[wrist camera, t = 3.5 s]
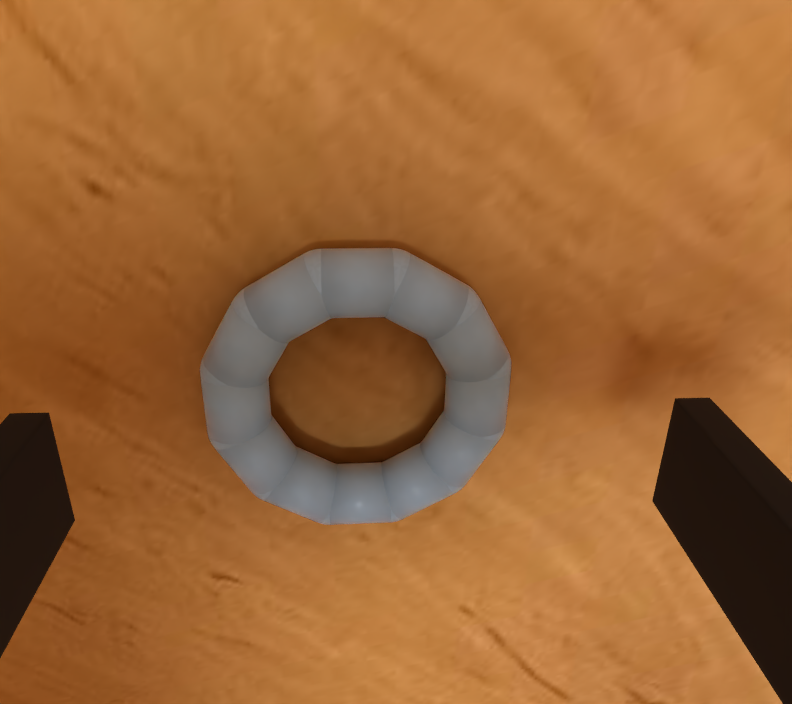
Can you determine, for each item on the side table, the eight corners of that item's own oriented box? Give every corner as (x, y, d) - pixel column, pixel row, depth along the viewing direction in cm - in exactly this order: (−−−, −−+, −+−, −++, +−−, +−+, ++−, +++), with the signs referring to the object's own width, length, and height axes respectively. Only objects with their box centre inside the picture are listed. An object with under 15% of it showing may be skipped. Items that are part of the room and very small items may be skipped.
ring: (161, 432, 18) (146, 467, 17) (293, 180, 15) (289, 196, 14) (406, 534, 20) (412, 573, 19) (558, 328, 18) (578, 355, 16)
